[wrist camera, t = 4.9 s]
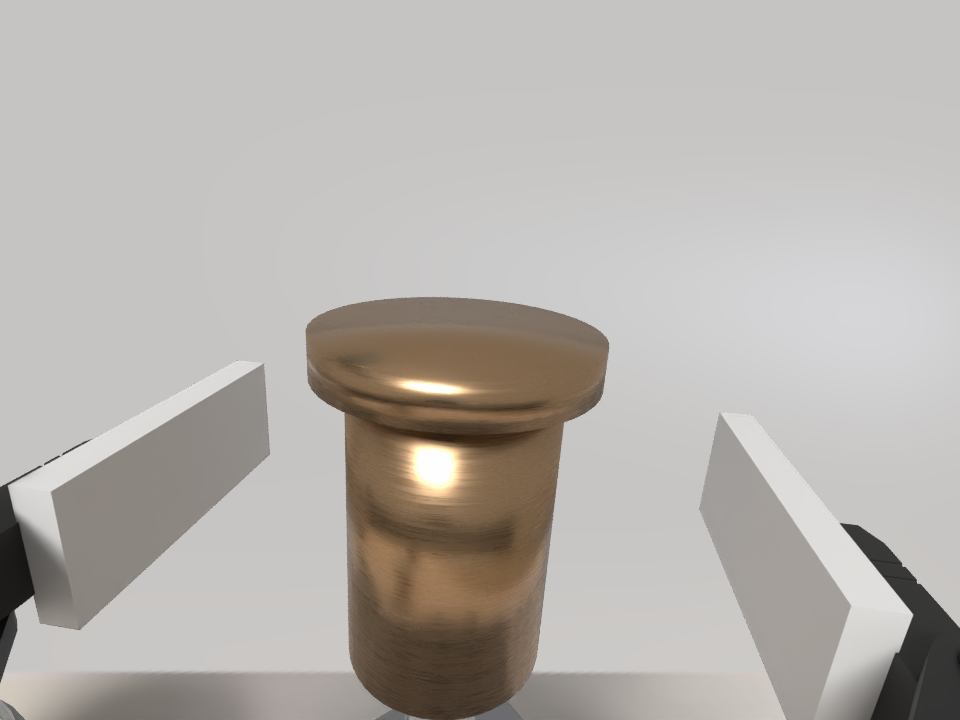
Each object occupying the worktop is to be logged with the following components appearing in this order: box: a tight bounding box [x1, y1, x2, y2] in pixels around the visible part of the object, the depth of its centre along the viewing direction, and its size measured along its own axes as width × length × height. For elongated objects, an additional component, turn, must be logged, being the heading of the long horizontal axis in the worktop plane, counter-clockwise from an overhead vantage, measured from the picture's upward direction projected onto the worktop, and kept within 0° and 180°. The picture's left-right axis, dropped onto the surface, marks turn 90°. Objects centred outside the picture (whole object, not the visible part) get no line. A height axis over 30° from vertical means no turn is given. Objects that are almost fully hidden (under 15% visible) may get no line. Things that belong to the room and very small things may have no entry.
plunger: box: [306, 297, 609, 720], centre depth 13 cm, size 8×8×18 cm
